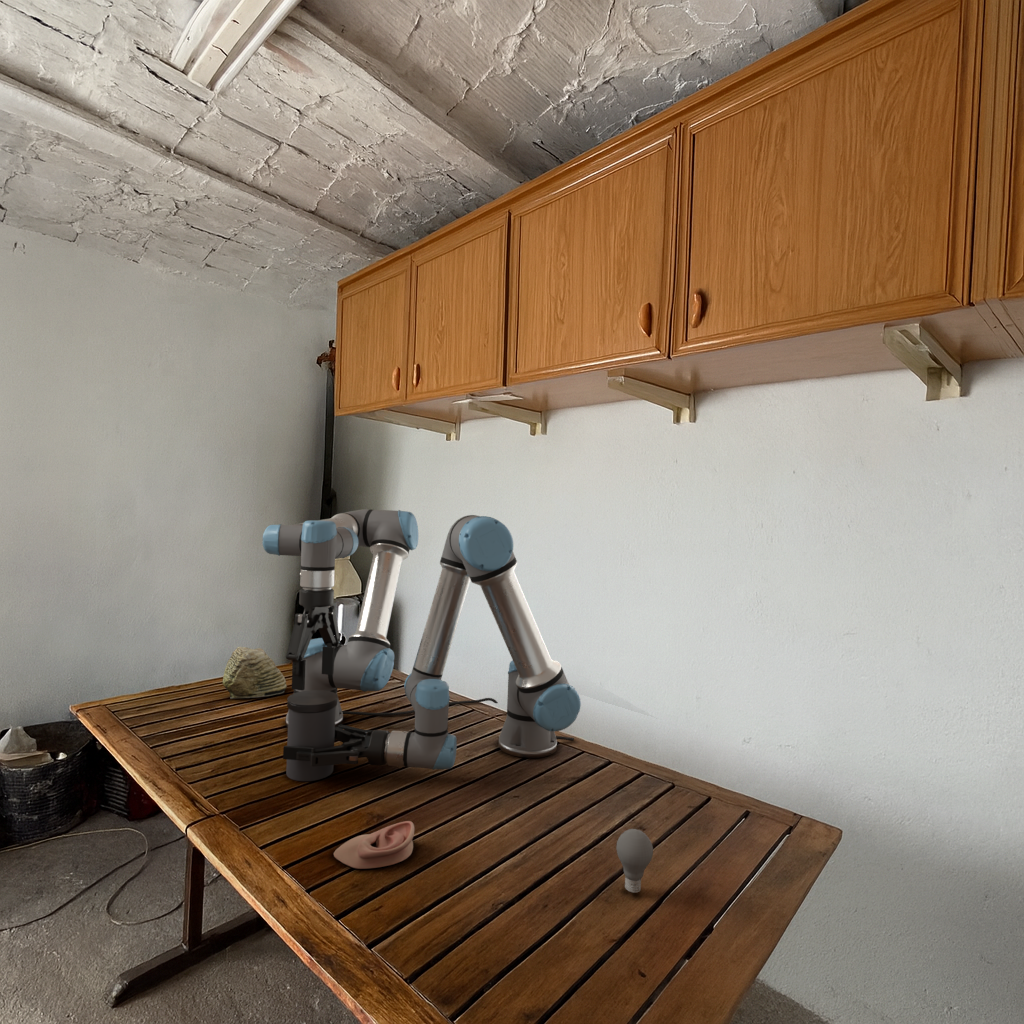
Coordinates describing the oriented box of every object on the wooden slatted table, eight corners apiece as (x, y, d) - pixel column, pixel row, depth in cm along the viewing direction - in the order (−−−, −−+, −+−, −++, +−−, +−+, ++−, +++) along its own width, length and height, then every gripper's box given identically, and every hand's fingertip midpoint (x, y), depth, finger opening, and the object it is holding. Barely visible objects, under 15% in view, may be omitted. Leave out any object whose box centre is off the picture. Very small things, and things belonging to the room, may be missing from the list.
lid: (278, 703, 145) (278, 696, 145) (321, 694, 153) (321, 687, 153) (303, 716, 138) (303, 708, 138) (346, 705, 146) (347, 698, 146)
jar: (277, 770, 145) (280, 698, 145) (318, 758, 153) (320, 689, 153) (301, 785, 138) (303, 709, 138) (342, 772, 146) (344, 700, 146)
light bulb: (610, 879, 108) (613, 822, 108) (644, 879, 109) (647, 822, 109) (619, 902, 102) (622, 840, 102) (655, 901, 103) (658, 840, 103)
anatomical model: (325, 840, 109) (355, 809, 121) (324, 863, 109) (354, 830, 121) (398, 852, 107) (421, 819, 118) (397, 876, 107) (420, 840, 118)
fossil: (218, 695, 195) (220, 647, 195) (278, 685, 208) (279, 640, 207) (228, 703, 189) (230, 653, 188) (289, 692, 201) (290, 645, 201)
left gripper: (328, 580, 158) (325, 666, 158) (271, 593, 134) (267, 695, 134) (356, 582, 156) (353, 669, 156) (303, 596, 132) (299, 699, 133)
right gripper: (373, 787, 133) (271, 780, 134) (399, 744, 156) (313, 738, 158) (374, 752, 133) (273, 745, 134) (400, 714, 156) (314, 708, 158)
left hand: (313, 681), depth 145 cm, fingers open, 12 cm apart
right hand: (294, 741), depth 146 cm, fingers open, 11 cm apart
